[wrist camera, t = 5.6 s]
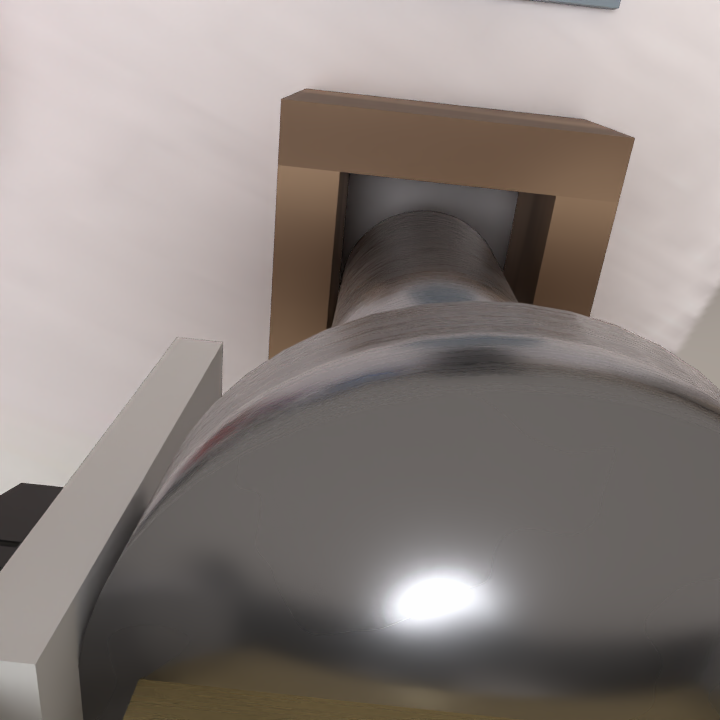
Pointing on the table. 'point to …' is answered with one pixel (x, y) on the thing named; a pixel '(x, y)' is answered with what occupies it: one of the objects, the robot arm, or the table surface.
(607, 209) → the socket block
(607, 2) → the mat
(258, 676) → the peg
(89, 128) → the table surface
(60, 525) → the robot arm
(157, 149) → the table surface
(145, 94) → the table surface
